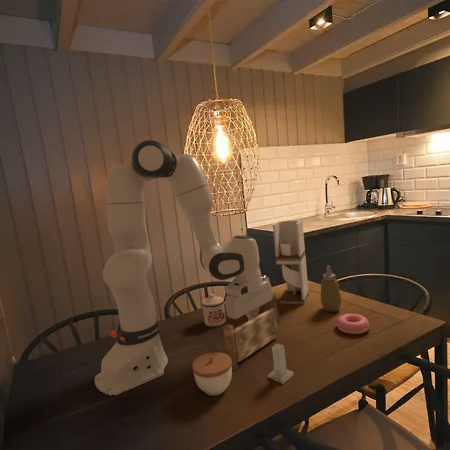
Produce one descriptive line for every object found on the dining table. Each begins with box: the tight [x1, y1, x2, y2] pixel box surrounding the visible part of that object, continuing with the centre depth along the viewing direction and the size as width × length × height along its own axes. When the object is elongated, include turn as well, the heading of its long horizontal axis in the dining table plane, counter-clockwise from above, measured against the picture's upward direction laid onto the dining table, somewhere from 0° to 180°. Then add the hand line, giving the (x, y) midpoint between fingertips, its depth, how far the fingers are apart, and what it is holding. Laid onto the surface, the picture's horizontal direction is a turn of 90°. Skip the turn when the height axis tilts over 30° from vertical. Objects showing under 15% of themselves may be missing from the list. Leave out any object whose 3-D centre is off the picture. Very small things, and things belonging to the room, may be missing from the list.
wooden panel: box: [233, 308, 279, 363], centre depth 105 cm, size 20×2×10 cm, turn 134°
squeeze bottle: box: [320, 265, 342, 313], centre depth 129 cm, size 8×8×18 cm
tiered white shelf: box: [272, 219, 309, 305], centre depth 143 cm, size 11×11×35 cm
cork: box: [264, 292, 281, 324], centre depth 126 cm, size 6×6×11 cm
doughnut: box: [335, 313, 370, 335], centre depth 113 cm, size 11×11×4 cm
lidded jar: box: [191, 351, 233, 397], centre depth 88 cm, size 11×11×9 cm
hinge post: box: [222, 324, 239, 371], centre depth 97 cm, size 3×3×13 cm
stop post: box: [267, 343, 295, 385], centre depth 90 cm, size 5×5×9 cm
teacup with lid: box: [201, 293, 227, 327], centre depth 131 cm, size 12×9×12 cm
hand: (253, 321), depth 111 cm, fingers closed
